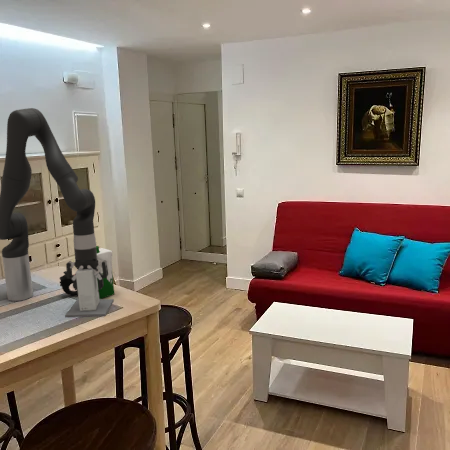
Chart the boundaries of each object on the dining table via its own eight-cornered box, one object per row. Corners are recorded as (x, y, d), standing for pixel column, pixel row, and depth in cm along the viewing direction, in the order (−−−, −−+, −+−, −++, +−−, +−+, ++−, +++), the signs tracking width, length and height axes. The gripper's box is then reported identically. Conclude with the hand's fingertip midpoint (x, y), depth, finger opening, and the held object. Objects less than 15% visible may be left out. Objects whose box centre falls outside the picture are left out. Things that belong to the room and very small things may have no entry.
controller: (60, 295, 180) (58, 271, 178) (92, 290, 185) (90, 266, 183) (61, 298, 176) (59, 274, 174) (94, 293, 181) (92, 269, 179)
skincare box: (96, 310, 162) (92, 271, 159) (78, 311, 162) (75, 271, 159) (99, 301, 170) (96, 263, 167) (83, 302, 170) (80, 264, 167)
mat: (76, 301, 173) (76, 300, 173) (113, 300, 173) (113, 299, 173) (65, 317, 159) (65, 315, 159) (105, 316, 160) (105, 313, 159)
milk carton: (86, 295, 180) (81, 246, 175) (105, 289, 186) (102, 241, 182) (98, 300, 174) (94, 250, 169) (118, 294, 180) (114, 245, 176)
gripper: (61, 249, 157) (65, 293, 161) (102, 248, 158) (106, 292, 161) (68, 243, 165) (72, 286, 168) (107, 242, 165) (110, 285, 168)
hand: (88, 289), depth 165 cm, fingers open, 8 cm apart
